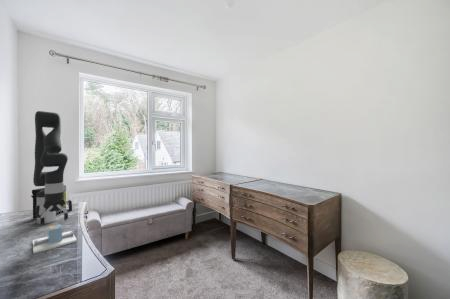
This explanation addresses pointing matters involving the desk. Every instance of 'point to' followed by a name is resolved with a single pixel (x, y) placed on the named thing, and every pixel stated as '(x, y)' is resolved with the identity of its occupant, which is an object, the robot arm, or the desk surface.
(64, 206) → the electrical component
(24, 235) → the desk surface
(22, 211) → the desk surface
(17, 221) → the desk surface
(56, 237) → the block
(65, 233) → the rail plate
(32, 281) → the desk surface
